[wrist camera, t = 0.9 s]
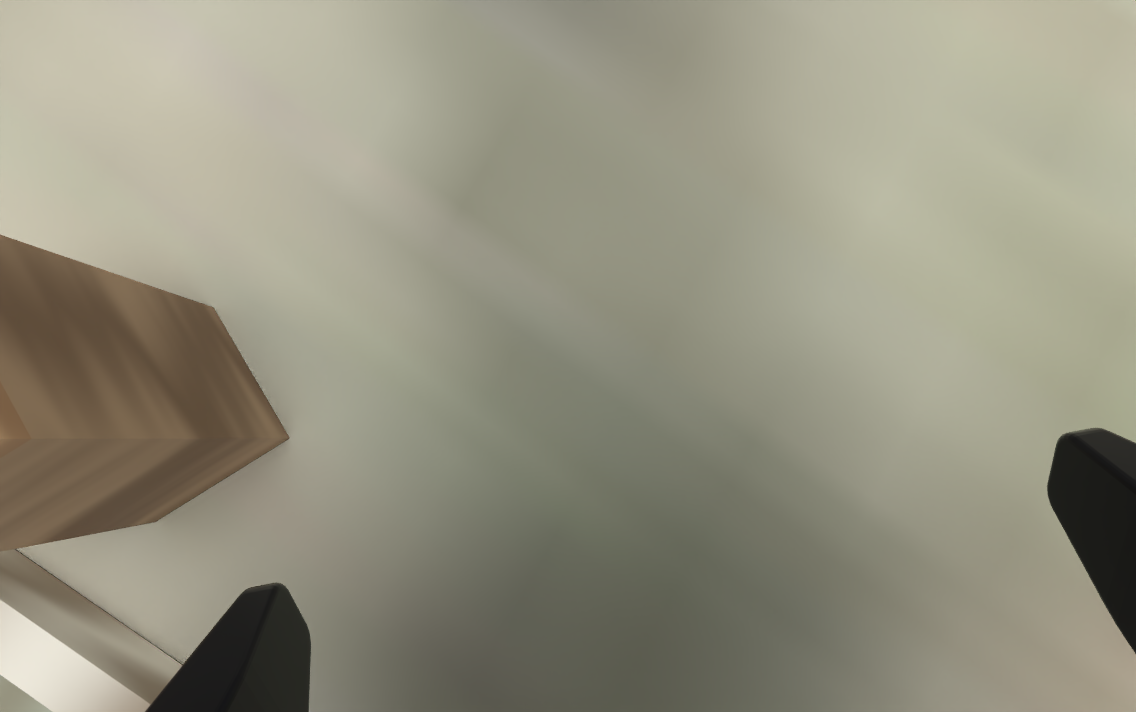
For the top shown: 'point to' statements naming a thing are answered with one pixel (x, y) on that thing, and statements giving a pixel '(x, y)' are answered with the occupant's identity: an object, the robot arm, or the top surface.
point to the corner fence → (69, 649)
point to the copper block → (113, 400)
